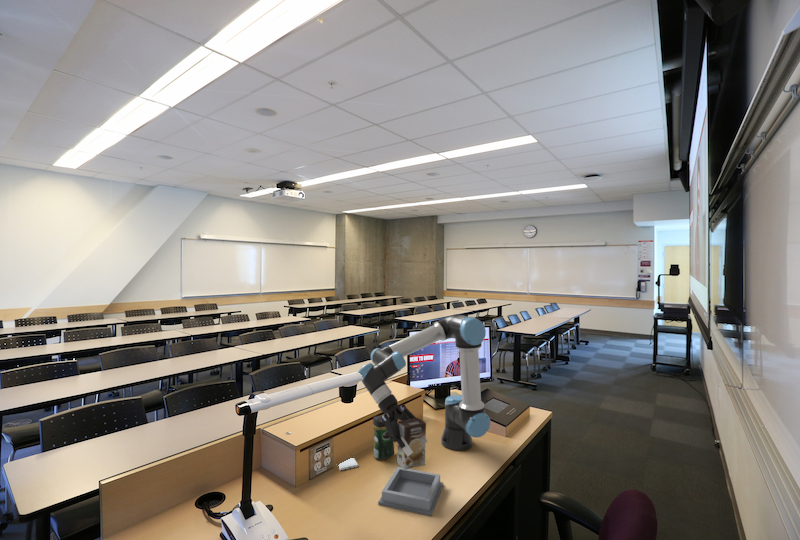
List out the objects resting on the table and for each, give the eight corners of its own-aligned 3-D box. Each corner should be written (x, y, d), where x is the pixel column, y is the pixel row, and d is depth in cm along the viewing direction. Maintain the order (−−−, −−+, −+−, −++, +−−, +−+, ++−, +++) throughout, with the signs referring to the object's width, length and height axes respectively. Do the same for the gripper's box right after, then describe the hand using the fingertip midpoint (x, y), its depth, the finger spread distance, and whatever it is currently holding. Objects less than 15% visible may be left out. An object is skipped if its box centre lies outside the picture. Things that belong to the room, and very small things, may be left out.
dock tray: (396, 475, 157) (396, 465, 157) (443, 484, 151) (443, 473, 151) (378, 504, 138) (378, 492, 138) (431, 516, 132) (431, 503, 132)
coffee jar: (388, 449, 180) (388, 410, 180) (396, 456, 173) (396, 416, 173) (370, 454, 175) (370, 414, 175) (377, 462, 168) (378, 420, 168)
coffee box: (404, 470, 139) (405, 427, 139) (396, 462, 145) (397, 421, 145) (425, 464, 144) (426, 423, 144) (417, 457, 149) (417, 416, 149)
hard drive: (332, 455, 172) (340, 468, 161) (350, 451, 176) (358, 464, 165) (332, 458, 172) (340, 472, 161) (350, 455, 176) (358, 467, 165)
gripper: (395, 396, 162) (426, 442, 154) (361, 413, 143) (395, 466, 135) (405, 386, 159) (438, 432, 151) (372, 402, 140) (407, 456, 132)
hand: (418, 448), depth 143 cm, fingers closed on coffee box, 10 cm apart
